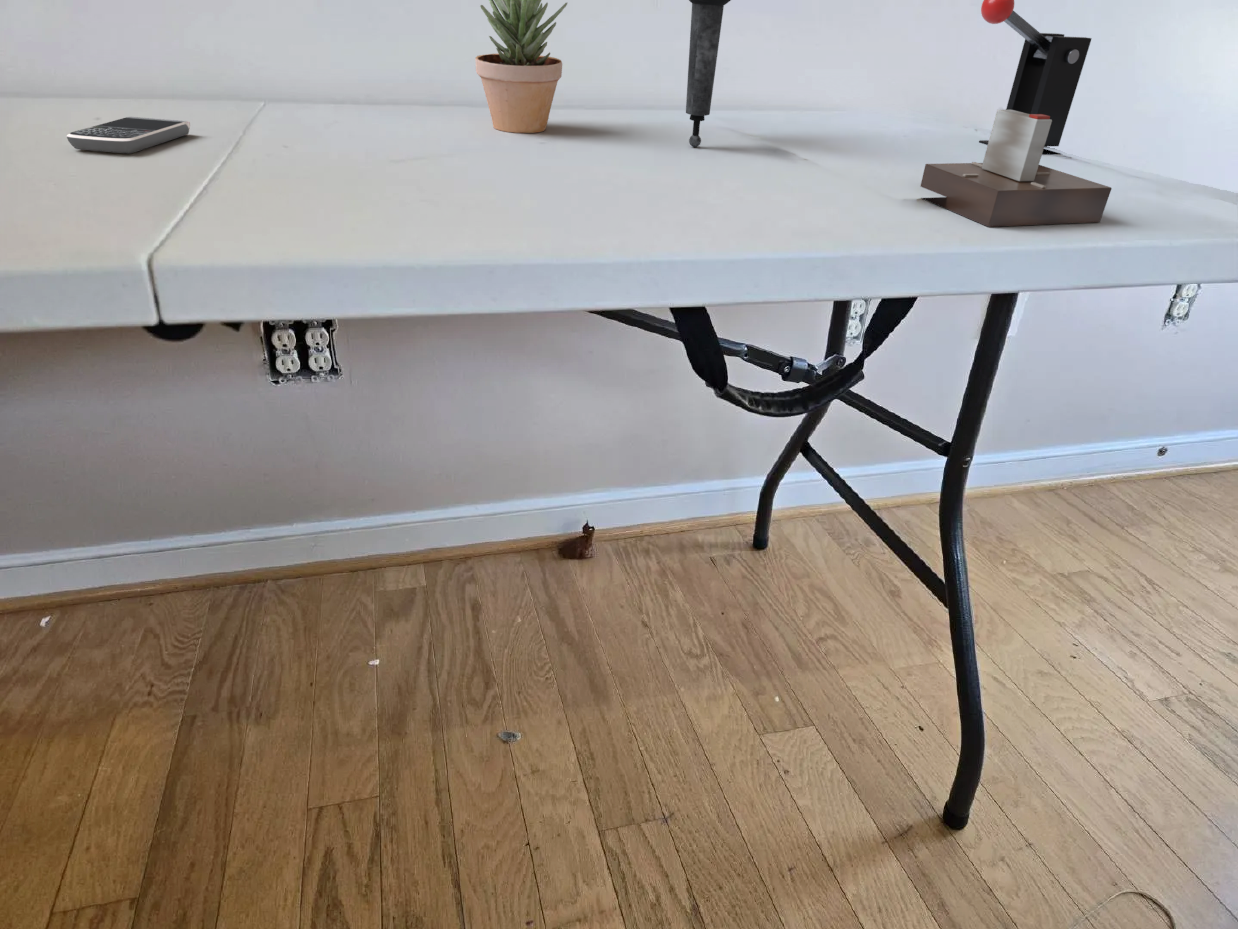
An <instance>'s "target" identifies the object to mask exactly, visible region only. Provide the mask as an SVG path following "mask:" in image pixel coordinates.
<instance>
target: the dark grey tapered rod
mask: <svg viewBox="0 0 1238 929" xmlns="http://www.w3.org/2000/svg"><path fill="white" fill-rule="evenodd" d="M688 1H689V2H690V3H691V17H690V30H689V32H690V35H689V50H688V67H687V82H686V84H687V85H686V101H685V113H686V114H687V115H689V120H690V121H693V122H692V124H693V125H692V134H691V136H690V137H689V138H688V143H689V145H690V146H691V147H693V148H697V147H699V146H700V145H701V144H702V139H701V136H700V126H701V122H704V121H705V120H706V118H705V116H709V115H710V113H711V106H712V99H713V90H714V83H715V75H716V67H717V60H718V53H719V46H720V38H721V32H722V31H721V29H722V24H723V23H722V22H723V21H722V20H723V14H724V9H725V8H724V7H725V6H726V5H727V4H728V3H729V2H731V1H732V0H688Z"/></svg>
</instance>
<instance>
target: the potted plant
mask: <svg viewBox="0 0 1238 929" xmlns="http://www.w3.org/2000/svg"><path fill="white" fill-rule="evenodd" d="M488 2H489V4H490V7H491V8H492V13H490V11H489V10H488V9H487V8H486V7H485V6H484V4H479V5H480V6H479V7H480V9H481V10H482V12H483V13H484V15H485V16H486V18H487V22H488V23H489V25H490V26H491V27H492V29H493V30H494V32H495V33H496V35H497V36H498V37H499V39H500V40H501V41H502V42H503V44H504V45H505V46H503V45H502V44H500V43H499V42H498V41H497V40H496V39H495V38H493V36H491V35H488V38H489V39H490V41H491V42H492V43H493V45H494V46H495V49H496V51H497V53H487V54H479V55H477V56H476V57H475V71H476V75H478V77H479V78H480V80H481V84H482V87H483V92H484V94H485V98H486V102H487V106H488V109H489V114H490V117H491V121H492V122H491V123H492V126H493V128H494V129H495V130H497V131H500V132H501V131H502V132H506V133H507V132H508V133H514V134H515V133H516V134H518V133H519V134H535V133H536V134H537V133H540V132H541V133H542V132H544V131H545V130H546V128H547V125H548V121H549V117H550V112H551V108H552V104H553V100H554V97H555V93H556V89H557V86H558V82H559V80H560V79H561V78H562V75H563V74H562V73H563V61H562V59H559V58H557V57H553V56H550V55H551V51H549V52H548V53H547V54H546V55H542V54H543V53H544V51H545V49H546V48H547V46H548V41H546V40H547V39H548V38H549V36H550V35H551V34H552V32H553V31H554V28H555V27H556V26H557V21H555V22H554V20H555V19H556V18H558V16H559V15H560V14H561V13H563V10H564V9H565V8H566V7H567V6H568V2H565V3H564V4H562V6H561V7H560V8H559V9H558V10H557V11H555V12H554V13H553V14H552V15H551V16H550V17H548V18H547V20H546V21H544V22H543V23H542V24H540V22H541V20H542V18H543V17H544V15H545V13H546V11H547V8H548V5H549V3H548V2H546V3H545V4H544V5H543V2H542V0H488ZM552 22H554V23H552ZM551 23H552V24H551ZM539 24H540V25H539ZM550 24H551V25H550ZM538 25H539V26H538ZM549 25H550V26H549ZM548 26H549V27H548ZM547 27H548V28H547ZM546 28H547V29H546ZM545 29H546V30H545ZM543 31H544V32H543Z"/></svg>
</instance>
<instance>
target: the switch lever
mask: <svg viewBox="0 0 1238 929" xmlns="http://www.w3.org/2000/svg"><path fill="white" fill-rule="evenodd" d="M1014 8H1015V0H983V1H982V3H981V7H980V14H981V16H982V19H983V20H984V21H985V22H987V23H988V24H992V25H998V24H1001V23H1003V22H1004V23H1005V24H1006V25H1008V26H1009V27H1010V28H1011V29H1012V30H1014V31H1015V32H1017V34H1018V35H1019V36H1021V37H1022V38H1023V39H1024V40H1025V39H1026V40H1027V41H1028V42H1030V43H1031V44H1032V45H1033V46H1035V47H1036V48H1037V51H1036V52H1035V54H1034V56H1033V57H1034V58H1035V59H1036V60H1037V61H1039V62H1040V63H1041V64H1042V65H1044V66H1045V62H1046V59H1047V55H1048V52H1049V48H1050V45H1051V41H1052V38H1053V37H1052V36H1045V37H1044V36H1043V35H1042V34H1041V33H1042V32H1040V31H1038V30H1037V29H1036V28H1035V27H1034V26H1033V25H1031V24H1030V23H1029V22H1028V21H1027V20H1025V19H1024V18H1023V17H1022V16H1020V15H1019V14H1018V12H1016V11H1014Z"/></svg>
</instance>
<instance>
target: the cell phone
mask: <svg viewBox="0 0 1238 929" xmlns="http://www.w3.org/2000/svg"><path fill="white" fill-rule="evenodd" d="M190 130H191V122H190V121H188V120H175V119H165V118H163V119H162V118H153V117H152V118H150V117H138V116H126V117H123V118H119V119H115V120H112V121H108V122H104V123H101V124H100V123H99V124H97V125H93V126H90V127H85V128H82V129H77V130H75V131H72V132H69V133H68V134H66V139H67V141H68V143H69V144H70V145H71V146H72V147H73V148H74V149H76V150H81V151H91V152H103V153H104V152H105V153H116V154H129V155H130V154H133V153H134V154H135V153H137V152H139V151H143V150H146V149H148V148H152V147H155V146H157V145H160V144H164V143H166V142H170V141H173V140H175V139H179V138H182V137H184V136H187V135H189V133H190Z"/></svg>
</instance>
